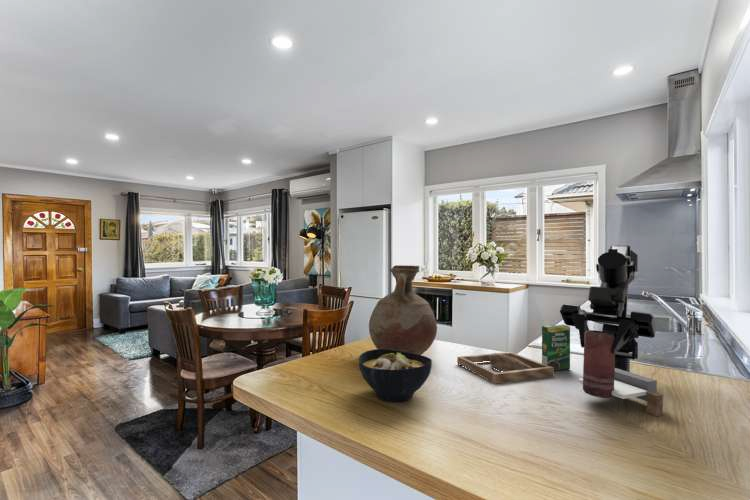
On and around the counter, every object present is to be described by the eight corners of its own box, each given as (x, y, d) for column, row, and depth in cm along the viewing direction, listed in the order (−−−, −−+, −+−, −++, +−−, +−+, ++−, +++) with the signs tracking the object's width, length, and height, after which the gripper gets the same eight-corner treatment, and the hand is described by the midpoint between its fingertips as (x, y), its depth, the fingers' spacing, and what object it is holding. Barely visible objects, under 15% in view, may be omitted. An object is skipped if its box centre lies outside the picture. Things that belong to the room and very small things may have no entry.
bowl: (392, 378, 100) (393, 341, 100) (445, 397, 88) (446, 354, 88) (343, 393, 88) (344, 351, 88) (396, 418, 76) (398, 368, 76)
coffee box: (546, 371, 109) (547, 326, 109) (540, 368, 112) (541, 324, 112) (570, 370, 111) (571, 326, 111) (563, 367, 114) (564, 324, 114)
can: (575, 388, 87) (577, 328, 88) (601, 389, 88) (603, 330, 88) (592, 397, 81) (594, 333, 82) (620, 399, 82) (622, 334, 82)
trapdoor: (610, 384, 94) (611, 366, 94) (660, 401, 83) (660, 381, 83) (576, 389, 90) (577, 370, 90) (624, 408, 79) (624, 387, 79)
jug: (429, 350, 130) (431, 264, 130) (443, 370, 108) (446, 267, 108) (367, 349, 128) (369, 263, 129) (369, 369, 107) (371, 265, 107)
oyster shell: (528, 378, 103) (528, 360, 103) (483, 369, 110) (484, 352, 110) (535, 370, 111) (536, 353, 111) (493, 362, 118) (494, 346, 118)
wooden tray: (510, 359, 121) (510, 351, 121) (553, 376, 105) (553, 367, 105) (457, 364, 114) (457, 356, 114) (495, 383, 98) (495, 374, 98)
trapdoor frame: (594, 389, 95) (595, 372, 95) (662, 415, 80) (663, 394, 80) (589, 390, 94) (589, 372, 94) (656, 416, 80) (657, 395, 80)
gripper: (563, 272, 94) (545, 321, 87) (654, 276, 81) (642, 335, 73) (573, 300, 100) (557, 348, 92) (660, 309, 86) (649, 366, 79)
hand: (597, 349), depth 84 cm, fingers closed on can, 6 cm apart
